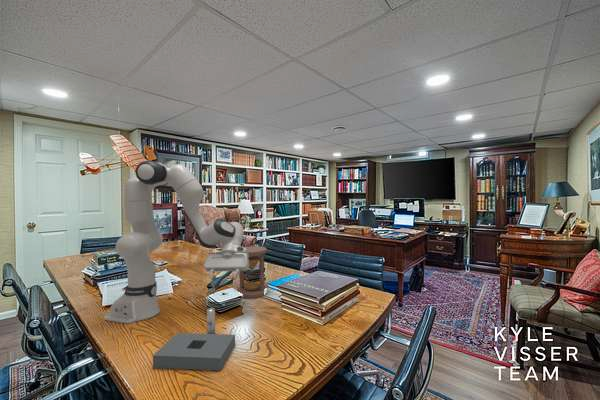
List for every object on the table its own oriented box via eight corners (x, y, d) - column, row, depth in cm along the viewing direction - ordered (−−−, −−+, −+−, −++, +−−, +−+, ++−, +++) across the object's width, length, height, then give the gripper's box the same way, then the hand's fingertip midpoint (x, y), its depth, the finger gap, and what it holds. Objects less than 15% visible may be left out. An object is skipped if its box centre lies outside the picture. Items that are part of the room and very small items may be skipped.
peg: (205, 336, 102) (205, 311, 102) (209, 332, 105) (208, 307, 105) (213, 336, 102) (213, 311, 102) (216, 332, 105) (216, 307, 105)
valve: (203, 303, 135) (218, 308, 128) (203, 290, 135) (218, 295, 128) (214, 299, 141) (229, 304, 134) (214, 286, 141) (229, 291, 134)
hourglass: (273, 291, 152) (273, 247, 151) (252, 301, 137) (252, 253, 137) (251, 285, 161) (250, 245, 161) (229, 294, 146) (228, 250, 146)
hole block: (153, 368, 83) (152, 355, 83) (177, 343, 97) (177, 332, 97) (220, 370, 82) (220, 358, 82) (235, 345, 96) (235, 334, 96)
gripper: (206, 249, 124) (197, 275, 114) (249, 248, 122) (243, 275, 113) (211, 256, 129) (202, 282, 119) (252, 255, 127) (247, 282, 117)
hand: (223, 279), depth 116 cm, fingers open, 8 cm apart
